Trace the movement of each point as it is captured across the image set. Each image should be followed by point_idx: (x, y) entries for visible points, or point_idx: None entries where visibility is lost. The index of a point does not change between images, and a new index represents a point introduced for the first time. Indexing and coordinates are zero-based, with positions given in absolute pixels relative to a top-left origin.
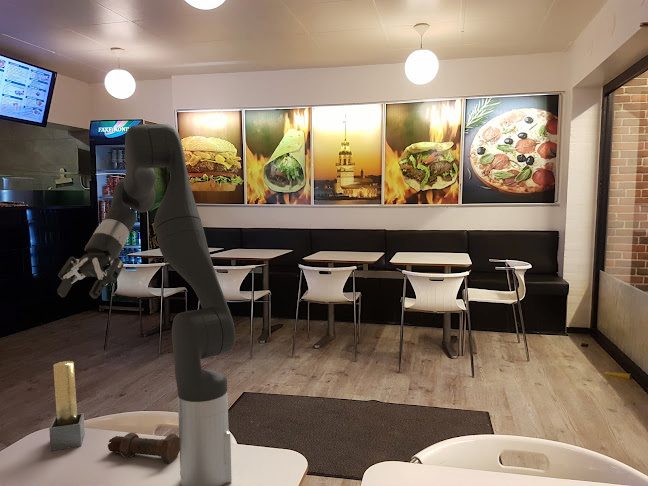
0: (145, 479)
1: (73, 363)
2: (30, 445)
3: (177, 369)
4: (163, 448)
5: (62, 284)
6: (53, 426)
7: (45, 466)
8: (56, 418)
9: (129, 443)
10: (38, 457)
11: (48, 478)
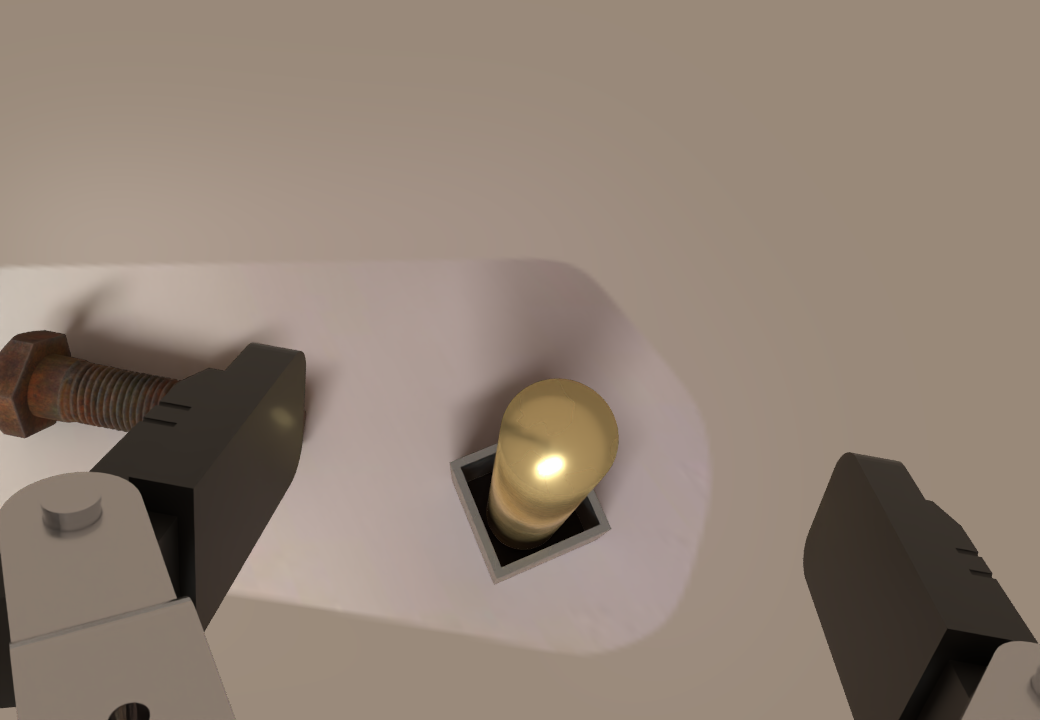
0: (115, 270)
1: (502, 452)
2: (660, 479)
3: None
4: (41, 336)
5: (927, 538)
6: None
7: (501, 337)
8: (598, 524)
9: None
10: None
11: (445, 270)
